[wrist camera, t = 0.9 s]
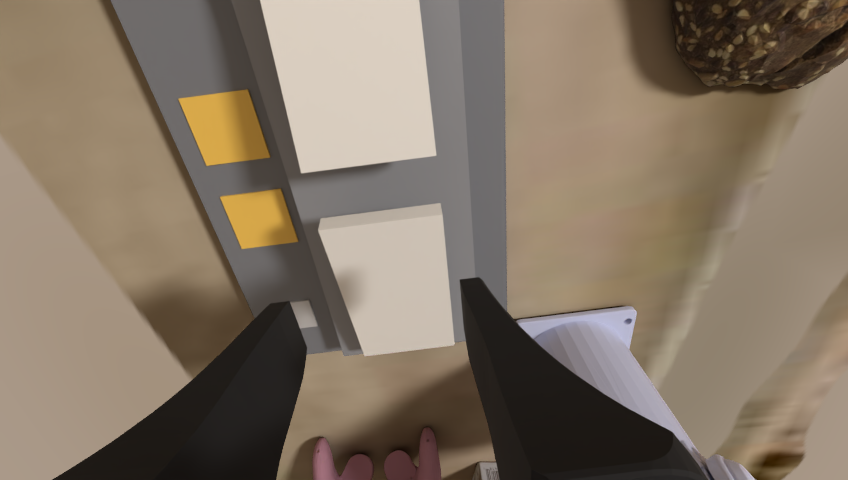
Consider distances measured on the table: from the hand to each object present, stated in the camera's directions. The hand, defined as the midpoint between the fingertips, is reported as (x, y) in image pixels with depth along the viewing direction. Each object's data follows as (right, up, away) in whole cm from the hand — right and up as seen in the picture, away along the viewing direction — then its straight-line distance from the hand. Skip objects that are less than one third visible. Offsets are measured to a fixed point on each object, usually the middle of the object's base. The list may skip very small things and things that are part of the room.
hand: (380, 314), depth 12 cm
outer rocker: (-1, +10, +1) cm, 10 cm away
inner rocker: (0, 0, +7) cm, 7 cm away
